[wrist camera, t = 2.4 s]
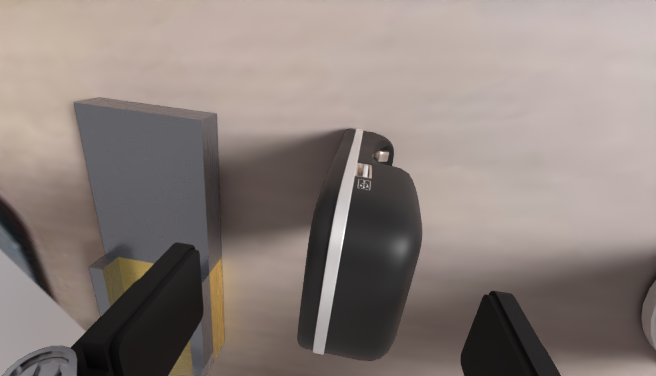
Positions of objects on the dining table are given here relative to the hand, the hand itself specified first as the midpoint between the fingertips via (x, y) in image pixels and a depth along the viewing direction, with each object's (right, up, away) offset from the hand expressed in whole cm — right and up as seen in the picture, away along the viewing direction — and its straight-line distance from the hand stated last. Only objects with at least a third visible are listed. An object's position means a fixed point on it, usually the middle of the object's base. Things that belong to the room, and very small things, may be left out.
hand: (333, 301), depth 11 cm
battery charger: (+2, +4, +10) cm, 12 cm away
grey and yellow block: (-12, 0, +14) cm, 19 cm away
